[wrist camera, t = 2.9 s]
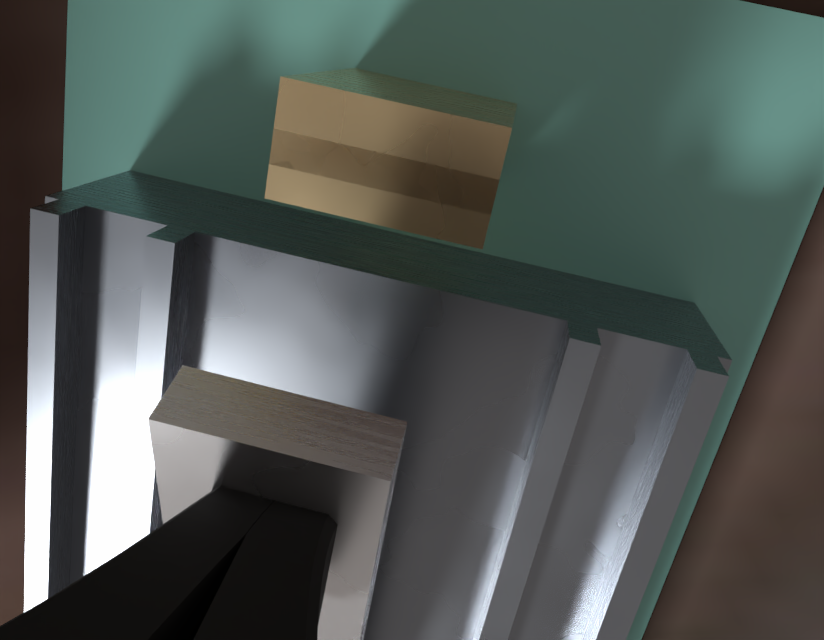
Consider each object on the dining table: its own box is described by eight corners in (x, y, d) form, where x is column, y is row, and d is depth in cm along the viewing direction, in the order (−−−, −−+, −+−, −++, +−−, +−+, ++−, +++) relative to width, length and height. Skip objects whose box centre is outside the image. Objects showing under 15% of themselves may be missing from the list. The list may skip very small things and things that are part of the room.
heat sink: (98, 658, 21) (-16, 819, 16) (139, 20, 15) (-24, 8, 10) (524, 776, 20) (523, 980, 16) (748, 154, 14) (847, 202, 10)
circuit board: (55, 747, 23) (44, 764, 23) (89, -131, 15) (72, -138, 14) (533, 885, 22) (533, 907, 22) (872, 31, 14) (886, 30, 13)
